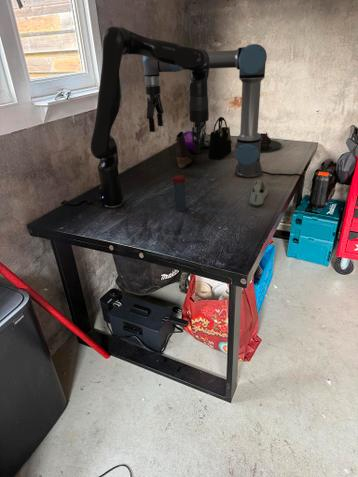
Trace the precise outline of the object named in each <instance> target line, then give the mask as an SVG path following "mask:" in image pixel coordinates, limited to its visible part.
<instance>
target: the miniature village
mask: <svg viewBox="0 0 358 477" xmlns="http://www.w3.org/2000/svg"><path fill="white" fill-rule="evenodd" d="M260 134H261V138H262V139H261V150H260V154H262V153H271V152H276V151H279V150H280V149H281V148H282V143H281V142H279V141H277V140H272V139H271V137H270V136H269V134H268V132H265V133H262V132H260ZM235 148H236V149H237V142H236V144H235Z"/></svg>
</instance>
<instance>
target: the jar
mask: <svg viewBox="0 0 358 477" xmlns="http://www.w3.org/2000/svg"><path fill="white" fill-rule="evenodd" d="M185 183H186V181H185V182H184V183H179V184H178V183H174V182H173V186H174V188H173V189H174V201H175V203H174V204H175V211H176V212H179V213H181V212H185V211H186V209H187V206H186V205H187V204H186V202H187V201H186V184H185Z"/></svg>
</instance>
